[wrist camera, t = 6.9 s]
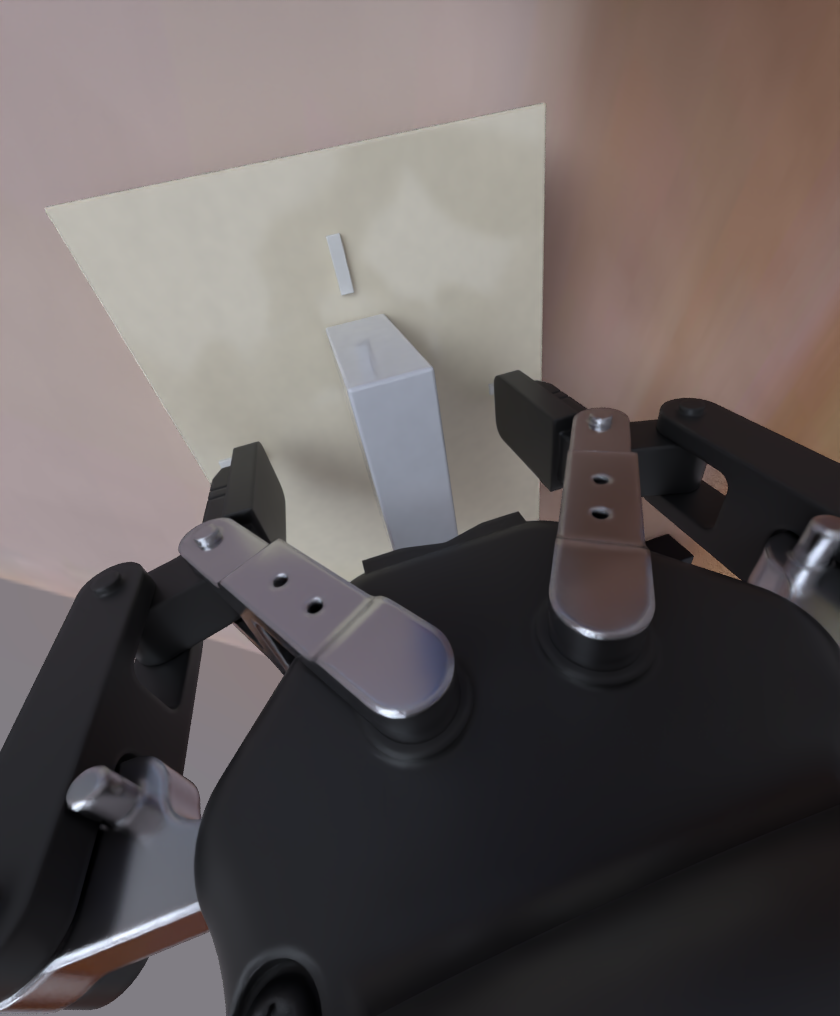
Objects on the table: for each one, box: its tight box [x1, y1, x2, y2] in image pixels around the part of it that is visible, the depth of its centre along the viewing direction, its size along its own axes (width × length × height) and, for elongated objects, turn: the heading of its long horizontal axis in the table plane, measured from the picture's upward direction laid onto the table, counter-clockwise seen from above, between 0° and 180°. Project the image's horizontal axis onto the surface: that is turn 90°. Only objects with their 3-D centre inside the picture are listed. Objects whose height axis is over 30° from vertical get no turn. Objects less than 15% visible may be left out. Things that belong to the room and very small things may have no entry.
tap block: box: [45, 103, 546, 582], centre depth 15 cm, size 12×14×3 cm
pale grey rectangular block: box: [326, 314, 458, 551], centre depth 12 cm, size 6×2×5 cm, turn 10°
